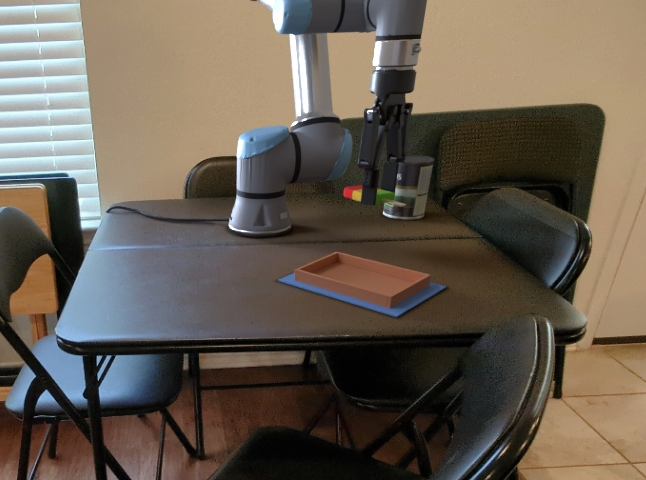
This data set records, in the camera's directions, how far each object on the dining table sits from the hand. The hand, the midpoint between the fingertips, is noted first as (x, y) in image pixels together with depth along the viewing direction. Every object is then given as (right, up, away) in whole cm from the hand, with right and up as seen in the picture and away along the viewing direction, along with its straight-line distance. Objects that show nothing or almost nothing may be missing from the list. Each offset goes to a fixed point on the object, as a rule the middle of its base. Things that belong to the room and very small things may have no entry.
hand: (377, 200), depth 114 cm
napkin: (-4, -17, -3) cm, 17 cm away
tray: (-4, -17, -3) cm, 17 cm away
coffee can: (+20, +7, +39) cm, 44 cm away
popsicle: (0, 0, 0) cm, 1 cm away
